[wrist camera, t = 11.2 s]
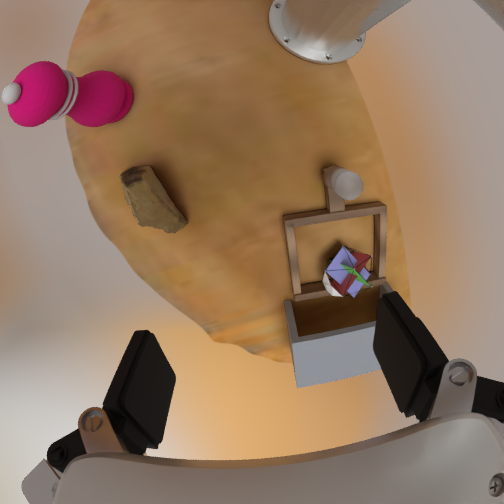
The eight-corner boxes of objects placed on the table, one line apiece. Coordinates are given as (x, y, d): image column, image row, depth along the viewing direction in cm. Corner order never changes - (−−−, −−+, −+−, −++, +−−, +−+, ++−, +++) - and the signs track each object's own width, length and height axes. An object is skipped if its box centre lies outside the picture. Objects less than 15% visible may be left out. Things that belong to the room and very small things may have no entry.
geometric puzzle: (359, 227, 34) (349, 275, 30) (386, 258, 36) (378, 305, 32) (322, 244, 40) (306, 288, 35) (349, 270, 42) (337, 313, 37)
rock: (208, 234, 34) (192, 157, 29) (156, 270, 29) (129, 185, 23) (158, 220, 40) (142, 158, 35) (113, 248, 34) (90, 181, 29)
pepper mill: (134, 68, 27) (34, 31, 8) (140, 117, 30) (35, 116, 11) (89, 86, 27) (-18, 77, 9) (95, 133, 30) (-15, 153, 12)
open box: (284, 300, 41) (291, 343, 33) (385, 280, 40) (412, 315, 32) (290, 345, 45) (297, 388, 37) (380, 326, 44) (400, 363, 36)
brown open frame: (275, 171, 33) (282, 181, 26) (377, 159, 32) (405, 167, 25) (293, 292, 40) (300, 323, 34) (379, 275, 39) (398, 301, 33)
